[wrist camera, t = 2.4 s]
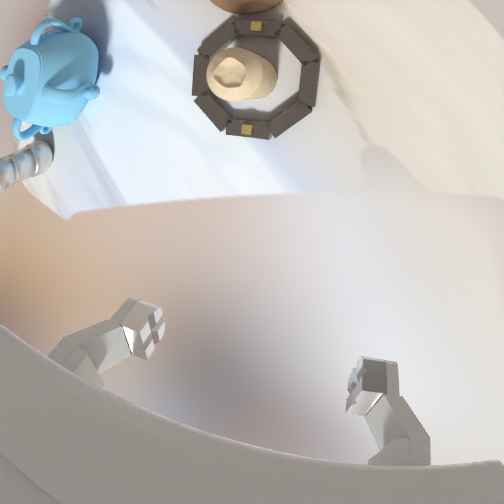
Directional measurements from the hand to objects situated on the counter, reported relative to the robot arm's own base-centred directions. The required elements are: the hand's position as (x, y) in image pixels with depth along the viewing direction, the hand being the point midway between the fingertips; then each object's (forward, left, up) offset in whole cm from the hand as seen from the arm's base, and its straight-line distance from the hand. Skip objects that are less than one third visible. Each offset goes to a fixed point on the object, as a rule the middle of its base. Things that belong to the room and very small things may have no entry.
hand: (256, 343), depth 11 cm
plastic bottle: (+47, +2, -29) cm, 55 cm away
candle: (+8, -10, -29) cm, 32 cm away
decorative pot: (+38, -12, -29) cm, 49 cm away
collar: (+8, -10, -29) cm, 32 cm away
